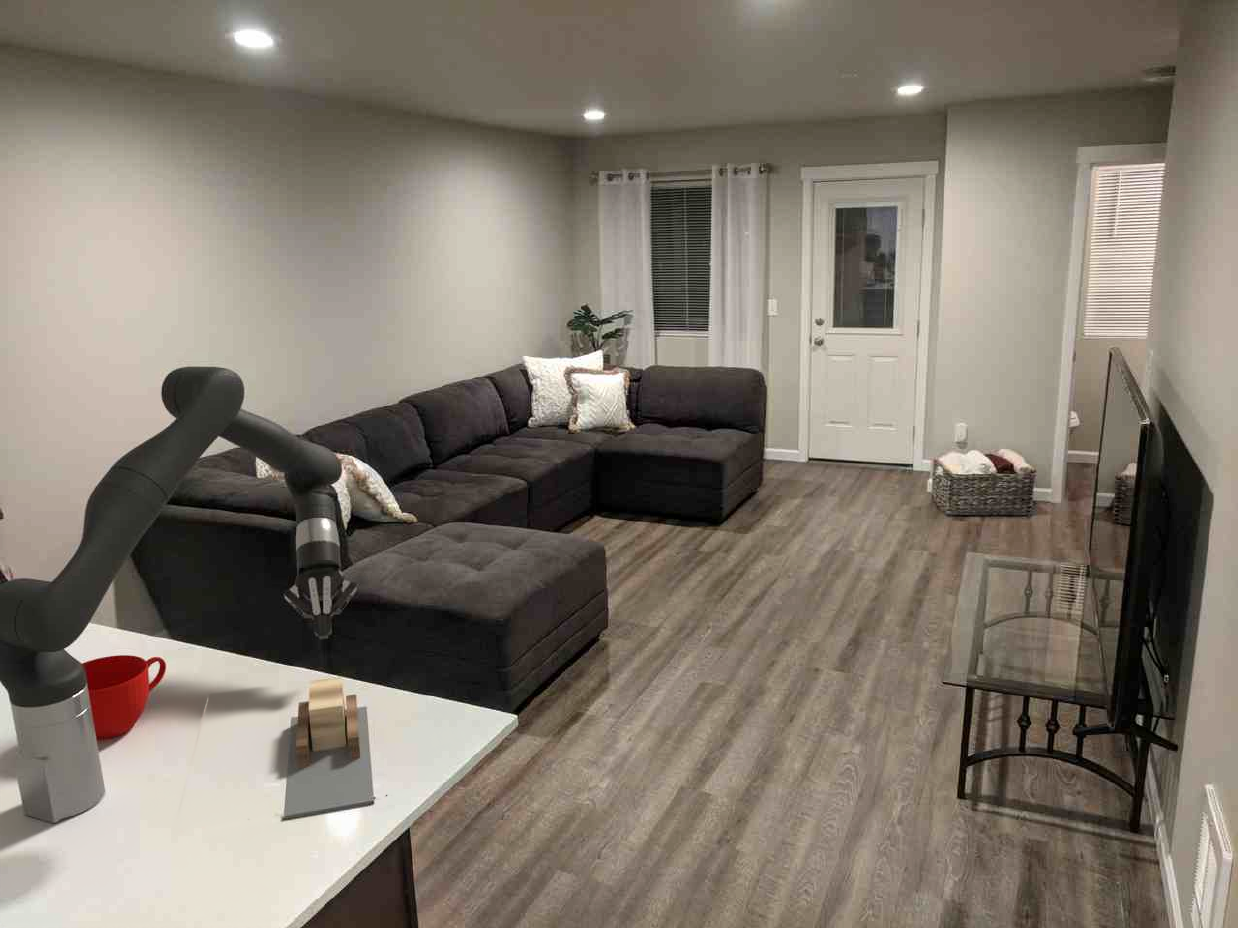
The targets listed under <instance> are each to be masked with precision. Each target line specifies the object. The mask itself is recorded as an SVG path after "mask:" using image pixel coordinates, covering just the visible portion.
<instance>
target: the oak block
mask: <svg viewBox="0 0 1238 928" xmlns="http://www.w3.org/2000/svg"><path fill="white" fill-rule="evenodd" d="M343 685H344V684H343V677H342V676H338V677H330V678H329V677H328V678H323V679H322V678H321V679H317V680H310V681H309V693H308V695H309V697H308V701H309V719H310V728H311V738H312V747H313V752H314V751H320V750H326V749H332V748H339V747H345V746H347V744H346V715H345V710H346V706H345V705H346V703H345V695H344V694H345V693H344V686H343Z"/></svg>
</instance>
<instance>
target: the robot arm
mask: <svg viewBox="0 0 1238 928" xmlns="http://www.w3.org/2000/svg"><path fill="white" fill-rule="evenodd" d="M160 394H161V397H160V398H161V400H162V403H163V406H164V408H165V409H166V411H167V412H168V413H169V414H170V415H171V416H172V417H174V418H175V419H174V420H173V421H172V422H171V423H170V424H169V425H168V426H167V427H166V428H164V429H162V430H161V431H160V432H158V433H157V434H155V435H153V436H152V437H150V438H149V439H147V440H145V441H144V442H142V443H141V444H138V445H137V446H136V447H134V448H132V449H131V450H129V451H128V452H126V453H125V454H124V455H123V456H121V457H120V458H119V459H118V460H117V461H115V463H113V464H112V466H111V467H110V468H109V470H108V471H107V472H106V473H105V474H104V476H103V477H102V478H101V480H100V481H99V482H98V484H97V485H96V486H95V488H94V489H93V491H92V492H90V493H91V494H90V495H89V497H88V499H87V502H86V505H85V511H84V516H83V517H84V519H83V528H82V537H81V540H80V543H79V545H78V548H77V550H76V551H75V553H74V554H73V556H72V557H71V558H70V559H69V561H68V562H67V564H66V565H64V568H63V569H62V570H61V572H59V573H58V575H57V576H56V577H54V579H53V580H51V581H50V580H42V579H36V578H25V577H21V578H13V579H11V580H8V581H6V582H4V583H3V584H1V585H0V684H1V685H2V686H3V687H4V689H5V690H6V691H7V694H8V698H9V699H8V700H9V703H10V707H11V709H10V710H11V713H12V719H13V724H14V730H15V735H16V740H17V746H18V750H17V751H15V752H14V753H13V755H12V758H13V759H12V760H13V763H14V769H15V775H16V778H17V784H18V790H19V796H20V801H21V804H22V811H23V815H25V816H29V817H33V818H35V819H38V820H42V821H46V822H49V823H52V824H56V823H58V822H60V821H61V820H63V819H67V818H70V817H73V816H76V815H79V814H81V813H83V812H85V811H87V810H89V809H92V807H94V806H96V804H97V803H98V804H99V802H100V801H101V800H102V799H103V797H104V795H105V794H106V788H105V782H104V777H103V770H102V764H101V763H102V762H101V759H100V751H99V747H98V741H97V740H98V739H96V734H95V728H94V722H93V716H92V710H91V704H90V698H89V692H88V686H87V679H86V674H85V669H84V667H83V665H82V663H81V661H79V660H78V659H77V658H76V657H74V656H72V655H71V654H70V653H69V652H67V651H66V648H68V647H70V646H71V645H72V644H74V642H75V641H76V640H78V639H79V637H80V636H81V635H82V634H83V632H85V630H86V628H87V627H88V625H89V623H90V622H91V620H92V618H93V617H94V615H95V613H96V612H97V610H98V608H99V606H100V604H101V602H102V601H103V599H104V598H105V596H106V594H107V592H108V590H109V589H110V587H111V584H112V583H113V582H114V580H115V578H116V577H117V574H118V573H119V571H120V570H121V569H122V567H123V566H124V564H125V563H126V562H127V560H128V558H129V557H130V555H131V554H132V552H133V551H134V549H135V548H136V547H137V545H138V544H139V542H140V540H141V539H142V538H143V536H144V535H145V534H146V532H147V531H148V529H149V528H150V527H151V526H152V524H153V523H154V522H155V520H157V518H158V517H159V515H160V514H161V512H163V509H164V508H165V506H167V504H168V502H169V501H170V500H171V498H172V496H173V494H174V493H175V491H177V489H178V487H179V486H180V485H181V483H182V482H183V481H184V480H185V478H186V476H188V474H189V473H190V472H191V470H192V469H193V468H194V466H195V465H196V464H197V462H198V461H199V460H200V458H201V457H202V455H204V453H205V452H206V450H208V448H210V446H212V444H213V443H214V442H215V441H216V439H218V438H219V437H220V438H222V439H224V440H226V441H228V442H230V443H231V444H234V445H235V446H237V447H239V448H241V449H242V450H244V451H246V452H247V453H249V454H251V455H252V456H253V457H256V458H257V459H258V460H259V461H262V462H263V463H265V464H266V465H268V466H269V467H270V468H272V469H274V470H276V472H277V471H278V472H279V473H283V477H284V482H285V485H286V487H287V489H288V492H289V493H290V497H291V499H292V503H293V506H294V509H295V518H296V519H295V520H296V534H295V551H296V568H297V576H296V579H295V580H294V585H293V586H292V587H290V588H286V589H284V591H283V595H284V600H286V602H288V603H289V605H290V606H292V607H293V608H294V609H295V610H296V611H297V613H299V614H300V615H301V616H302V617H303V618H304V619H312V620H313V627H314V628H313V629H314V635H315V637H318V638H319V640H324V639H329V636H330V635H332V633H333V632H332V631H333V629H332V627H333V626H332V618H333V616H336V615H341V613H342V612H343V610H345V608H346V606H347V605H348V603H350V601H351V599H352V598H353V597H354V595H355V594H356V593H357V583H356V582H355V581H351V582H350V581H349V580H347V579H345V577H346V576H345V575H344V573H343V572H342V565H341V563H342V562H341V553H340V550H341V549H340V537H339V531H338V528H337V519H336V517H337V516H336V506H335V501H334V499H333V498H332V497H331V496H330V495H328V494H325V493H320V492H319V493H318V492H317V493H315V492H316V491H318V490H322V489H324V488H326V487H329V486H332V485H335V484H336V483H337V482H338V481H339V480H340V479H341V477H342V474H343V466H342V462H341V460H340V458H339V457H338V456H337V454H335V453H334V452H333V451H332V450H331V449H329V448H328V447H325V446H323V445H319V444H318V443H317V444H316V443H314V442H311V441H308V440H304V439H300V438H299V437H297V436H296V435H295V434H293V433H291V431H289V430H288V429H287V428H284V427H283V426H282V425H280V424H278V423H276V422H275V421H273V420H270V419H267V418H266V417H263V416H260V415H257V414H255V413H253V412H250V411H247V410H245V409H243V408H242V407H243V403H244V399H245V386H244V382H243V380H242V378H241V376H240V375H239V374H238V373H236V372H235V371H234V370H232V369H230V368H225V367H219V366H183V367H182V366H181V367H178V368H176V369H173V370H172V371H170V372H169V373H168V374H166V377H164V380H163V382H162V384H161V391H160ZM341 589H342V590H341ZM340 590H341V591H342V593H341V595H339V598H338V599H337V600H336V601H335V602H334V604H333V605H332V600H333V599H334V598H335V597H336V596H337V594H338V593H339V591H340ZM299 593H300V594H302V596H303V597H305V599H306V600H308V602H311V606H312V607H311V608H310V607H309V606H308V605H307V604H305V603H304V602H303V600H301V598H300V595H299ZM321 601H322V603H323V605H322V607H323V610H322V612H321V606H320V602H321ZM321 613H322V614H321Z"/></svg>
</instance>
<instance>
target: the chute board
mask: <svg viewBox="0 0 1238 928" xmlns="http://www.w3.org/2000/svg"><path fill="white" fill-rule="evenodd" d="M367 709H368V706H367V705H366V706H361V707H360V706H359V707H357V710H358V726H359V743H360V758H355V759H349V749H348V738H347V710H346V709H345V715H346V744H347V746H345V747H339V748H332V749H326V750H320V751H314V752H313V747H312V738H310V765H309V766H306V767H300V768H298V761H297V752H296V739H297V723H298V716H293V717H291V720H290V721H291V722H290V734H289V735H290V736H289V749H288V761H287V762H288V763H287V774H286V775H287V776H286V784H285V785H286V786H285V787H286V788H285V797H284V799H285V800H284V811H283V812H284V814H283V819H284V820H288V819H294V818H300V817H307V816H311V815H316V814H317V815H318V814H322V813H329V812H334V811H338V810H345V809H350V808H357V807H362V806H363V807H364V806H366V805H367V806H368V805H373V804H375V795H374V785H373V784H374V783H373V769H372V757H371V746H370V734H369V733H370V732H369V720H368V710H367Z"/></svg>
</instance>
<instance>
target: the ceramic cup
mask: <svg viewBox="0 0 1238 928" xmlns="http://www.w3.org/2000/svg"><path fill="white" fill-rule="evenodd" d="M156 662H158V664H159V669H158V671H157V674H156V675H155V677H154V678H153V680H152V681H151V682H150V675H149V668H150V667H151V666H152V665H153V664H155V663H156ZM81 664H82V665H83V667H84V669H85V674H86V679H87V686H88V692H89V698H90V704H91V710H92V716H93V722H94V728H95V734H96V740H108V739H112V738H117V737H119V736H122V735H124V734H126V733H128V732H129V731H130V730H132V729H133V728H134V727H135V724H136V723H137V722H138V720H139V719H140V718H141V716H142V714H143V713H144V711H145V709H146V706H147V702H148V698H149V693H150V692H151V691H152V690H154V688H156V687H157V685H159V683H160V682H161V681H162V679H163V678H164V676H165V673H166V669H167V663H166V661H165V659H164V658H161V657H159V656H153V657H151V658H148V659H147V660H146V659H144V658H142V657H141V656H136V655H131V654H130V655H127V654H125V655H123V654H121V655H110V656H109V655H108V656H105V657H104V656H103V657H98V658H95V659H91V660H88V661H84V662H82V663H81Z"/></svg>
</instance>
